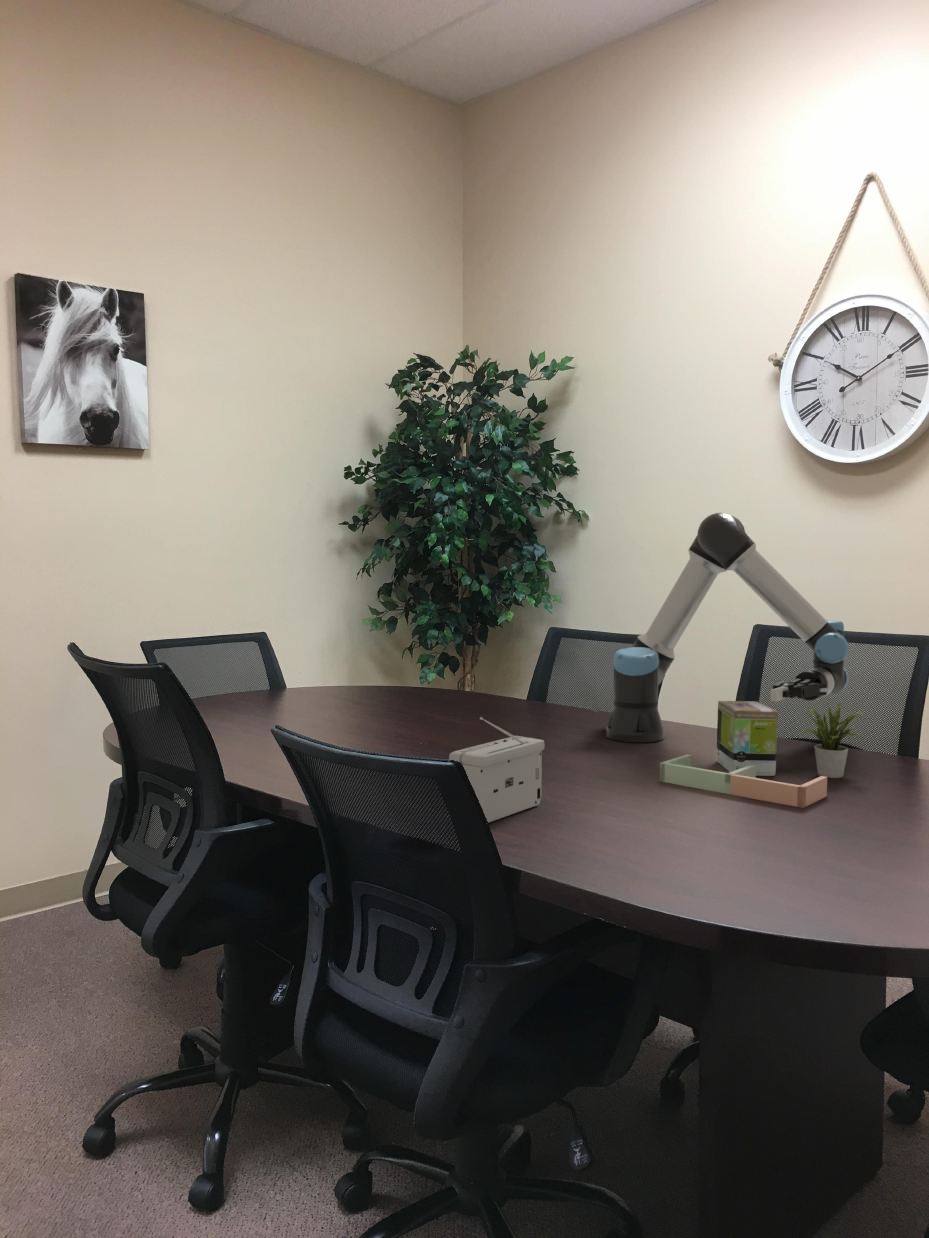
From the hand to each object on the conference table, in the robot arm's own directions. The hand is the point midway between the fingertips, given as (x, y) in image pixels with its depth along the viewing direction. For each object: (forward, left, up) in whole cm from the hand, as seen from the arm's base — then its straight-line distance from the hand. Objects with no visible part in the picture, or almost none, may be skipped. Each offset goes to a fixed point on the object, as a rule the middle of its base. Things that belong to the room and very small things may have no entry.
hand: (773, 695), depth 225 cm
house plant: (+17, -7, -16) cm, 24 cm away
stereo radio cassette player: (-19, -79, -16) cm, 82 cm away
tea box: (-1, -13, -16) cm, 20 cm away
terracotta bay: (+15, -31, -15) cm, 37 cm away
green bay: (-1, -30, -15) cm, 33 cm away
